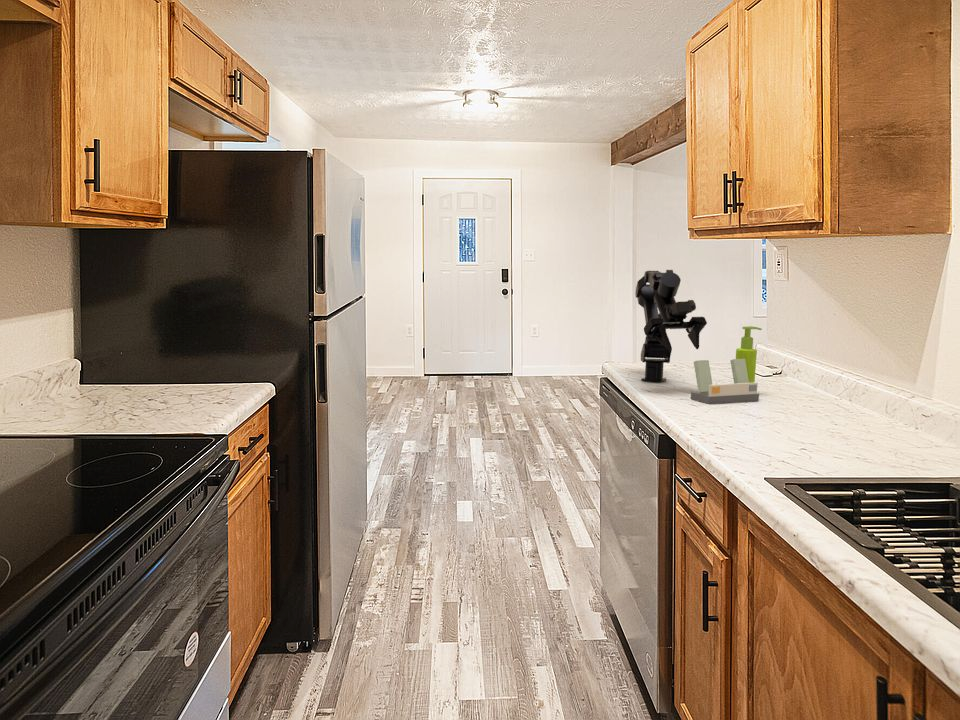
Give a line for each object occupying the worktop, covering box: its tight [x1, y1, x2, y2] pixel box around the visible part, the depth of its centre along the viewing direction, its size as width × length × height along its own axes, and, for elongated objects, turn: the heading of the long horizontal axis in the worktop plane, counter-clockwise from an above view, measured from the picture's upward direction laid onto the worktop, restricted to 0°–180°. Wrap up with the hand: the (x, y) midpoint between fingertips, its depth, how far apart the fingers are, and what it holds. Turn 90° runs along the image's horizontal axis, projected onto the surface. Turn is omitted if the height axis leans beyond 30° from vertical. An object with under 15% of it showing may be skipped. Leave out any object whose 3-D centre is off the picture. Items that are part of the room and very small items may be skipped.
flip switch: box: [693, 359, 714, 393], centre depth 231 cm, size 2×4×9 cm, turn 112°
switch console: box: [690, 381, 760, 405], centre depth 233 cm, size 8×18×5 cm, turn 113°
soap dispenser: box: [735, 326, 763, 383], centre depth 245 cm, size 6×7×20 cm
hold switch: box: [730, 358, 749, 384], centre depth 236 cm, size 2×4×9 cm, turn 113°
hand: (684, 349), depth 241 cm, fingers open, 9 cm apart
